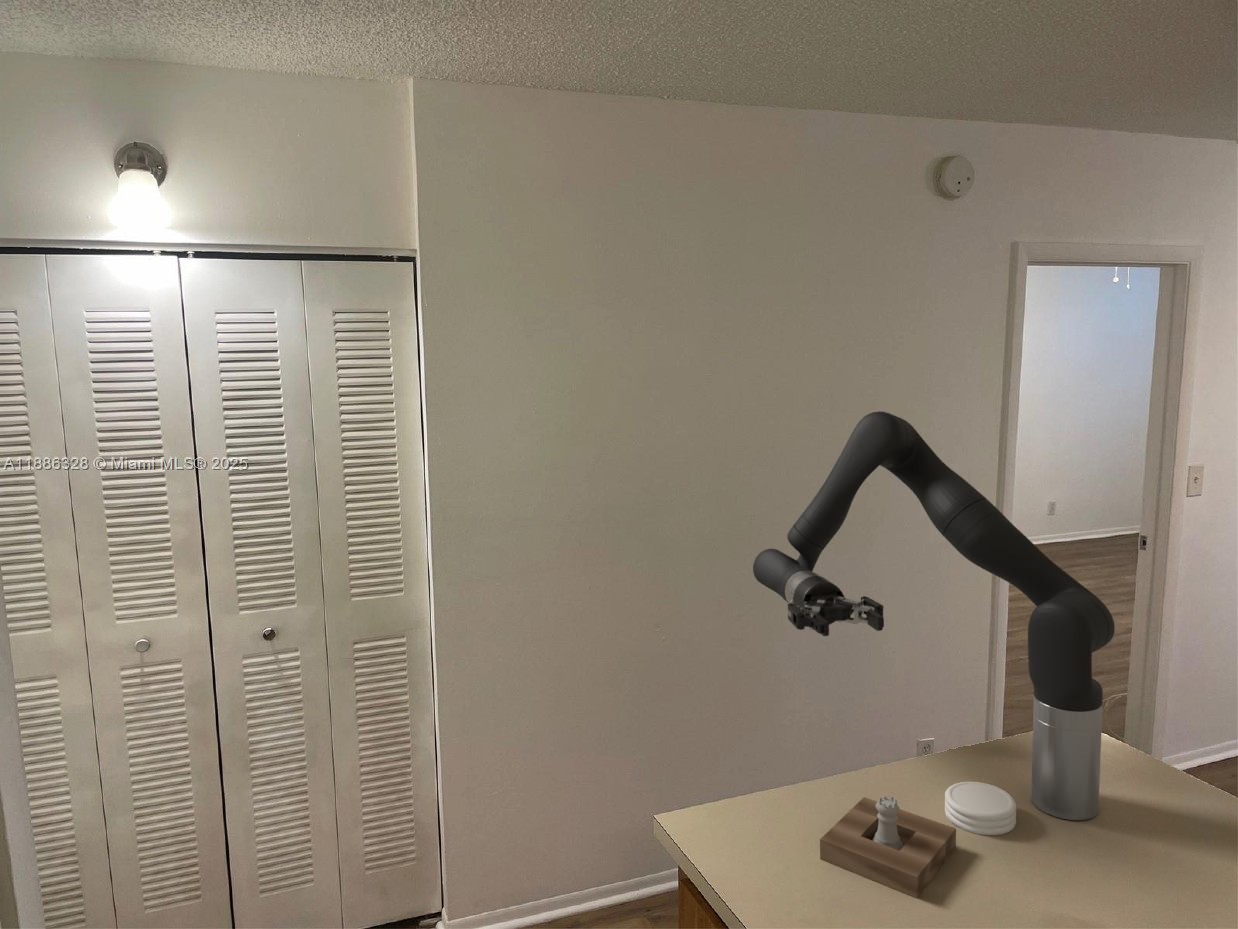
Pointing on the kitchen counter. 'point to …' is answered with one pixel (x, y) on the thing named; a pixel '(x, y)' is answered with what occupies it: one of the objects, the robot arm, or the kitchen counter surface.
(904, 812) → the socket block
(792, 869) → the kitchen counter surface
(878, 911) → the kitchen counter surface
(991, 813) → the coaster
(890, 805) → the rook chess piece
